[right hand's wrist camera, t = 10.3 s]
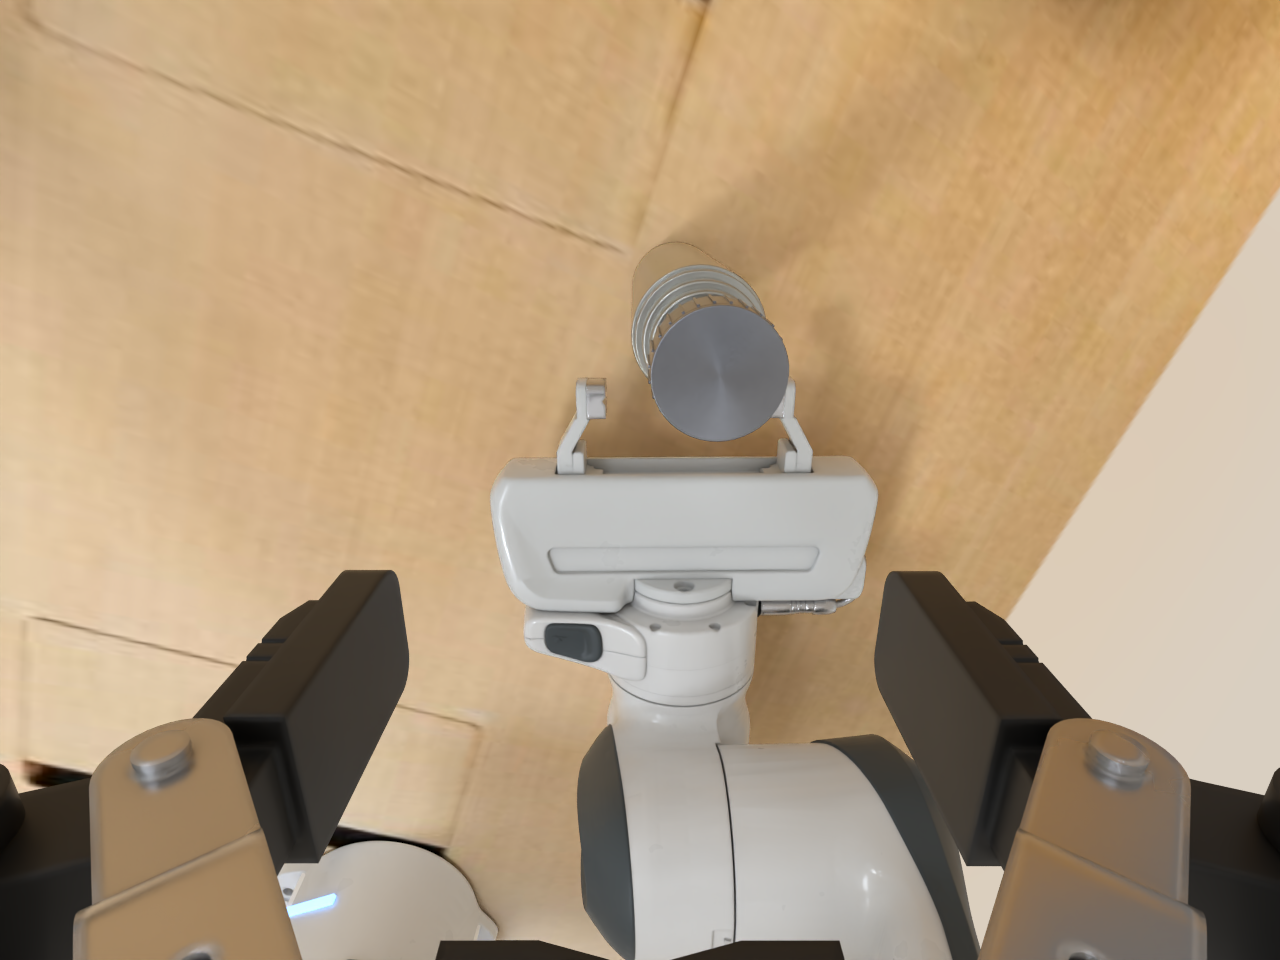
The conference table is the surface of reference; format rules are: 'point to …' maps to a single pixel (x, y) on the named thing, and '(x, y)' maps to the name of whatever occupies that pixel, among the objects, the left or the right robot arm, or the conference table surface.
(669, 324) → the cap
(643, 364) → the bottle
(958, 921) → the left robot arm
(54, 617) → the conference table surface
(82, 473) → the conference table surface
